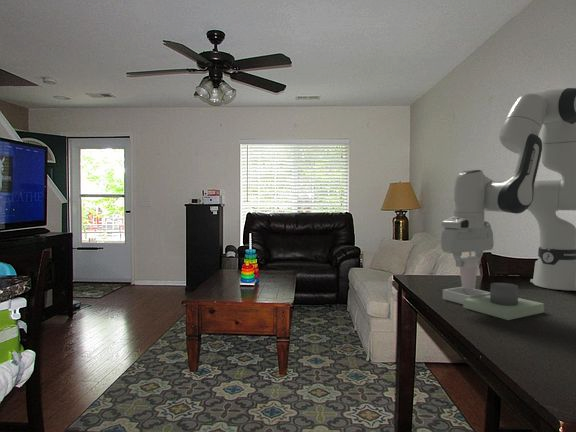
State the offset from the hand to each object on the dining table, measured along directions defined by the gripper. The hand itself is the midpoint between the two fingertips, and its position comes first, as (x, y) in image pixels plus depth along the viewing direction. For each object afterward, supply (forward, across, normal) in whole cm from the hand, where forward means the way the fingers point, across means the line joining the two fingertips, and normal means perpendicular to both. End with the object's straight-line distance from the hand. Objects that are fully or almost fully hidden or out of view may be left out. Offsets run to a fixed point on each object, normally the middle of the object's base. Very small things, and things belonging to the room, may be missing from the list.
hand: (467, 265), depth 127 cm
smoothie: (+7, 0, 0) cm, 7 cm away
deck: (+11, 0, +7) cm, 13 cm away
